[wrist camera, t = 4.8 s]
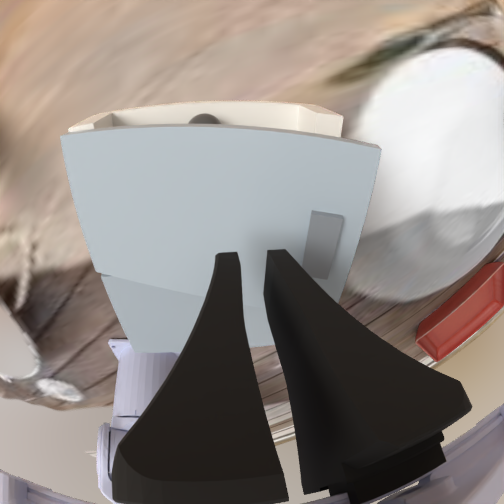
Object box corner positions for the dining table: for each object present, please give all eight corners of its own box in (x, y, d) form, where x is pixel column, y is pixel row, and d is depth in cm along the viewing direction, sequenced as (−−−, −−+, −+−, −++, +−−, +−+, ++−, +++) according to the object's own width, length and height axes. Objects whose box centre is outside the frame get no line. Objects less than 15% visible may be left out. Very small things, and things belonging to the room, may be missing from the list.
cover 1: (332, 310, 14) (332, 323, 13) (101, 265, 16) (93, 274, 15) (378, 145, 9) (383, 151, 8) (68, 132, 11) (55, 137, 10)
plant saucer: (430, 351, 44) (437, 364, 41) (404, 326, 35) (414, 344, 32) (496, 293, 37) (505, 304, 35) (492, 246, 28) (506, 260, 26)
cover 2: (297, 336, 23) (300, 344, 23) (135, 346, 21) (134, 355, 21) (317, 258, 18) (322, 266, 17) (103, 270, 16) (99, 280, 15)
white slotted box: (287, 304, 27) (297, 337, 23) (141, 313, 25) (136, 347, 21) (316, 104, 16) (343, 116, 13) (95, 114, 14) (68, 128, 11)
